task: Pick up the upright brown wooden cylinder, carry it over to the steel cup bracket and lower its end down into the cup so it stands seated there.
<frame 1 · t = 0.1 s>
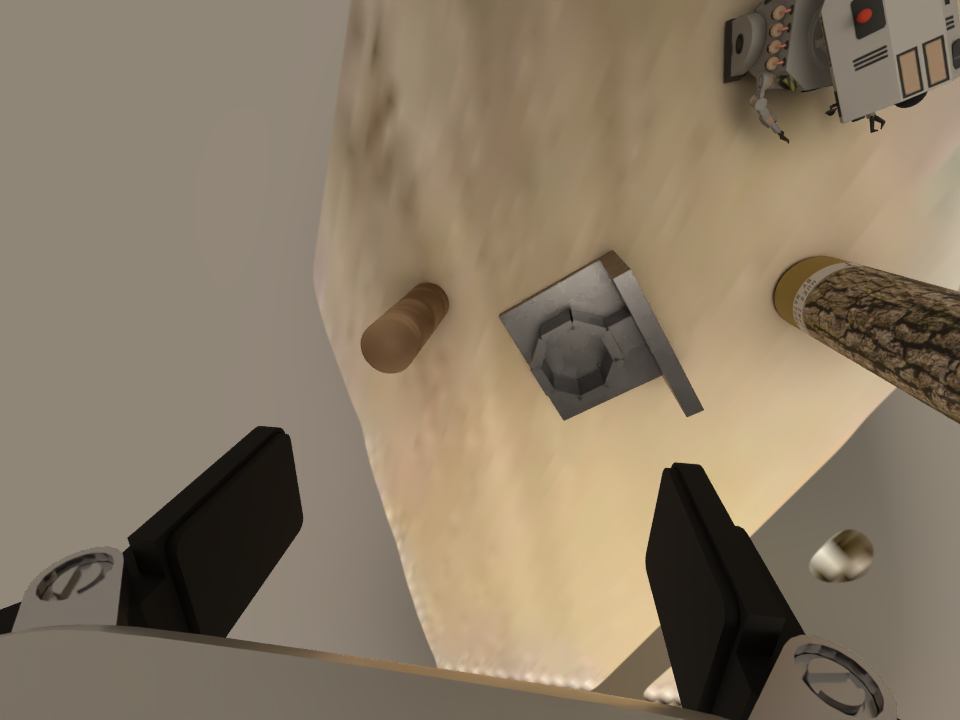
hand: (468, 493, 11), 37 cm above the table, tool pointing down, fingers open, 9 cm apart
brown wooden cylinder: (428, 303, 49), on the table
figurine: (780, 72, 37), on the table
bracket: (573, 346, 48), on the table
paper tube: (808, 290, 43), on the table
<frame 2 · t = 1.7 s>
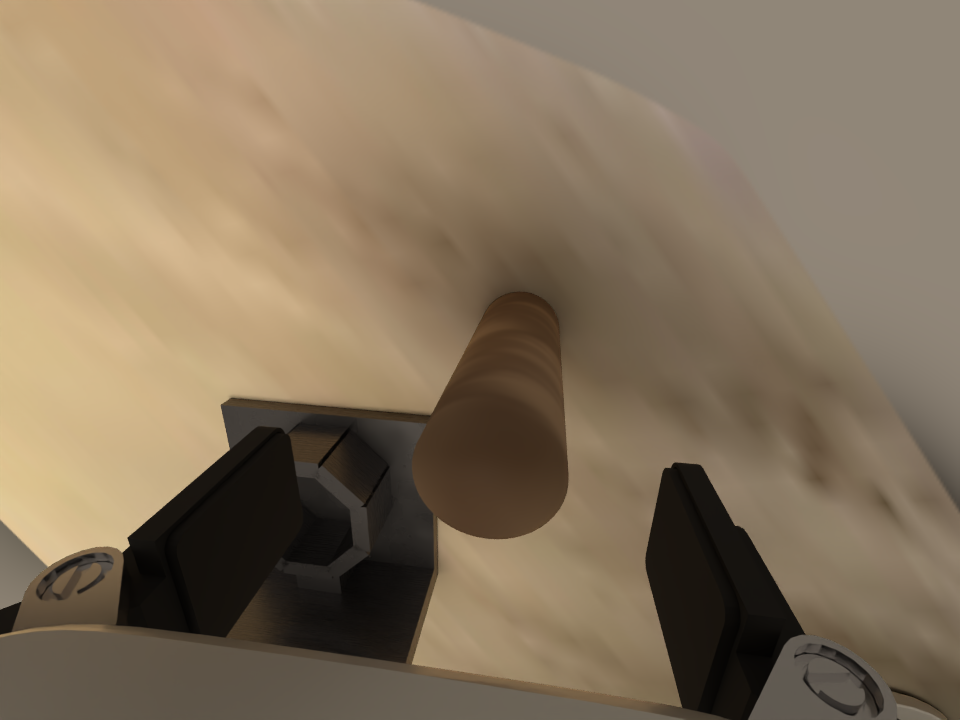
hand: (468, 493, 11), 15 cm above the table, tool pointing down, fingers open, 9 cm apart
brown wooden cylinder: (519, 330, 25), on the table
bracket: (337, 472, 31), on the table
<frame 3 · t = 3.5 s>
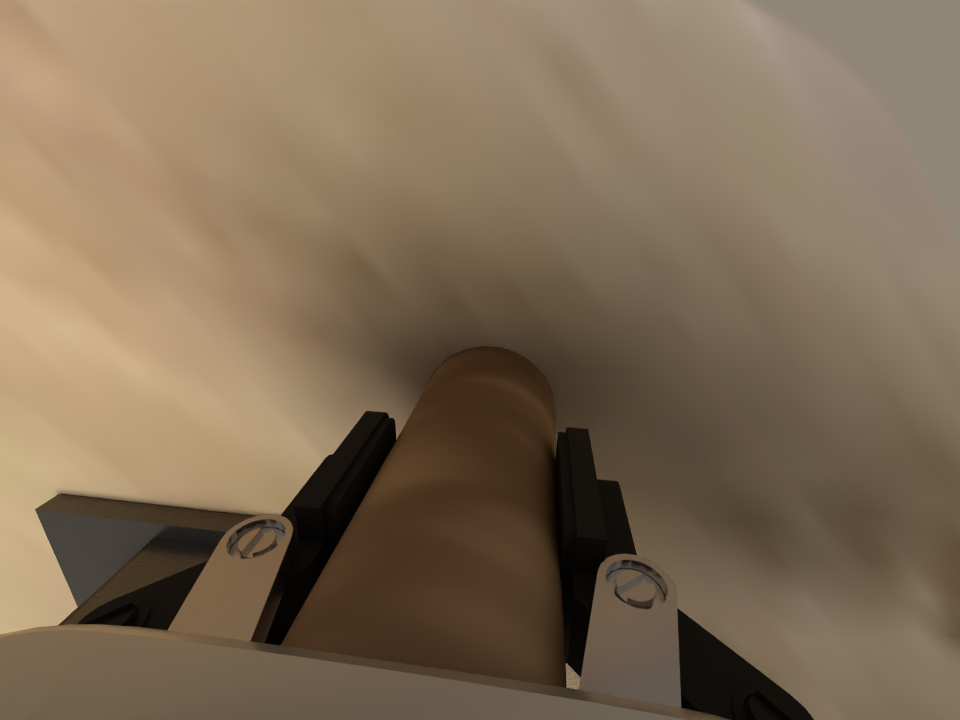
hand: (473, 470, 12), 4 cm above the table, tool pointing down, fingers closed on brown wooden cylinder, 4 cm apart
brown wooden cylinder: (489, 406, 15), on the table, touching gripper
bracket: (227, 596, 21), on the table
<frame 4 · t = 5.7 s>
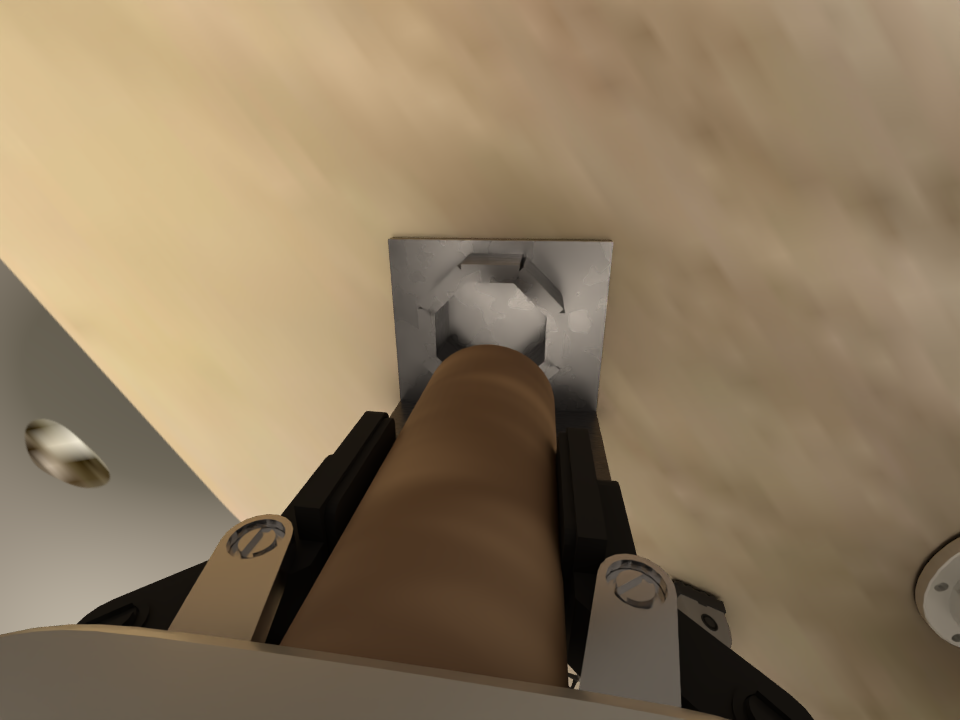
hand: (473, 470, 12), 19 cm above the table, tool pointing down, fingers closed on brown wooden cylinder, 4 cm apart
brown wooden cylinder: (489, 404, 15), point 16 cm above the table, touching gripper
figurine: (644, 608, 39), on the table
bracket: (497, 314, 31), on the table
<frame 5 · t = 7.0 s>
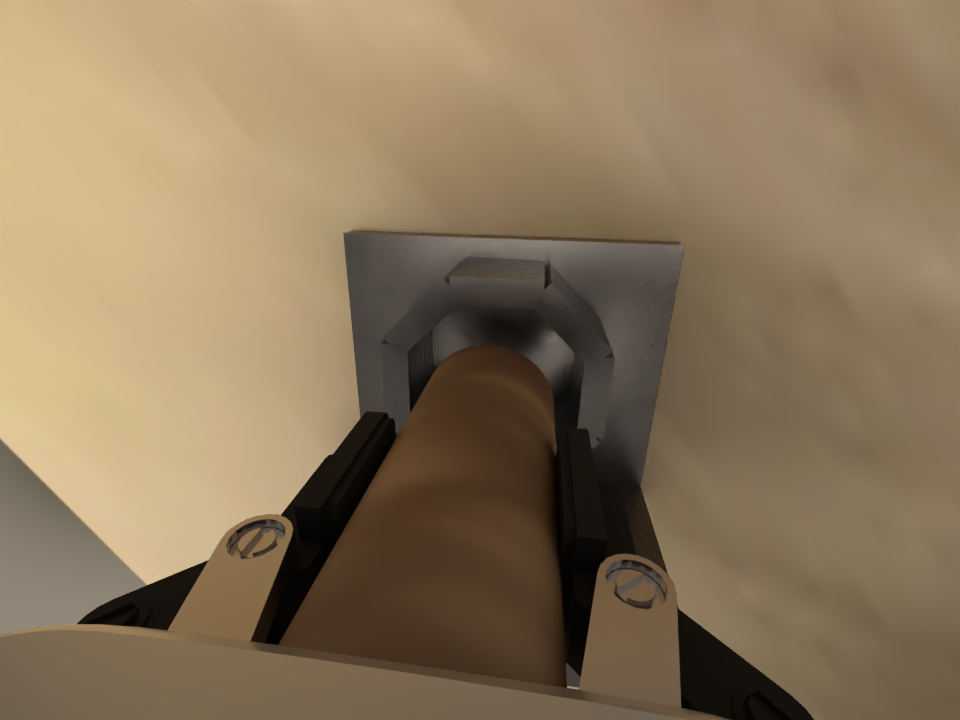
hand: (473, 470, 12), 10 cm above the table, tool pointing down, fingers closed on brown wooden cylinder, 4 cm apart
brown wooden cylinder: (489, 405, 15), point 6 cm above the table, touching gripper
bracket: (503, 345, 21), on the table
when the fingers open (7 cm above the table, at t = 8.0 s): brown wooden cylinder drops 2 cm, resting on bracket.
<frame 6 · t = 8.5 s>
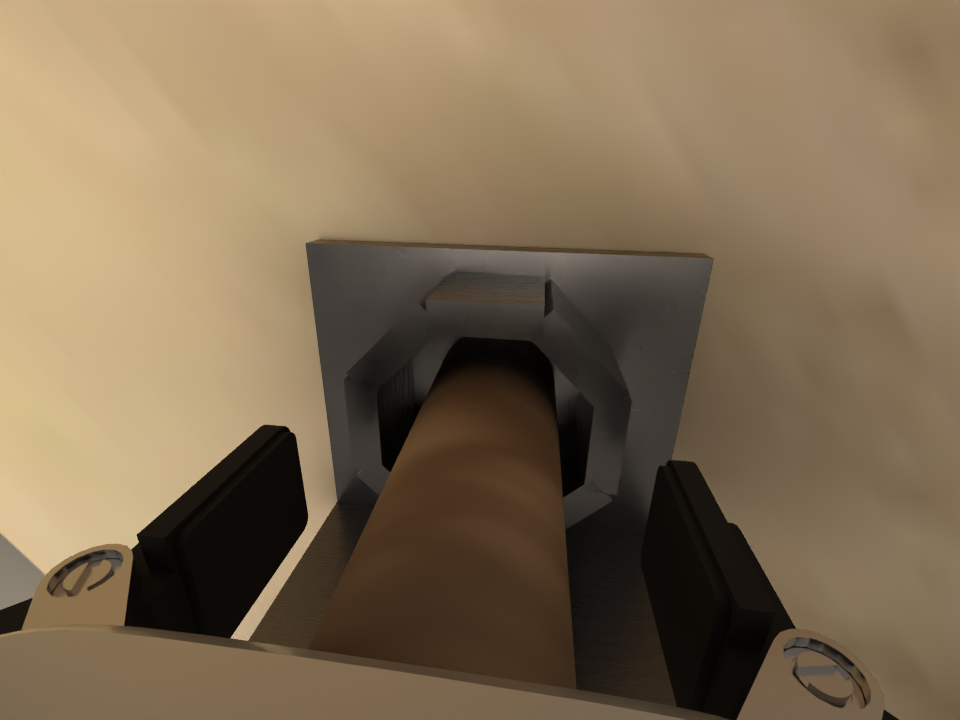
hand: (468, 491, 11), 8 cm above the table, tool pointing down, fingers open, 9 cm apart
brown wooden cylinder: (496, 383, 17), point 1 cm above the table, touching bracket
bracket: (497, 372, 18), on the table
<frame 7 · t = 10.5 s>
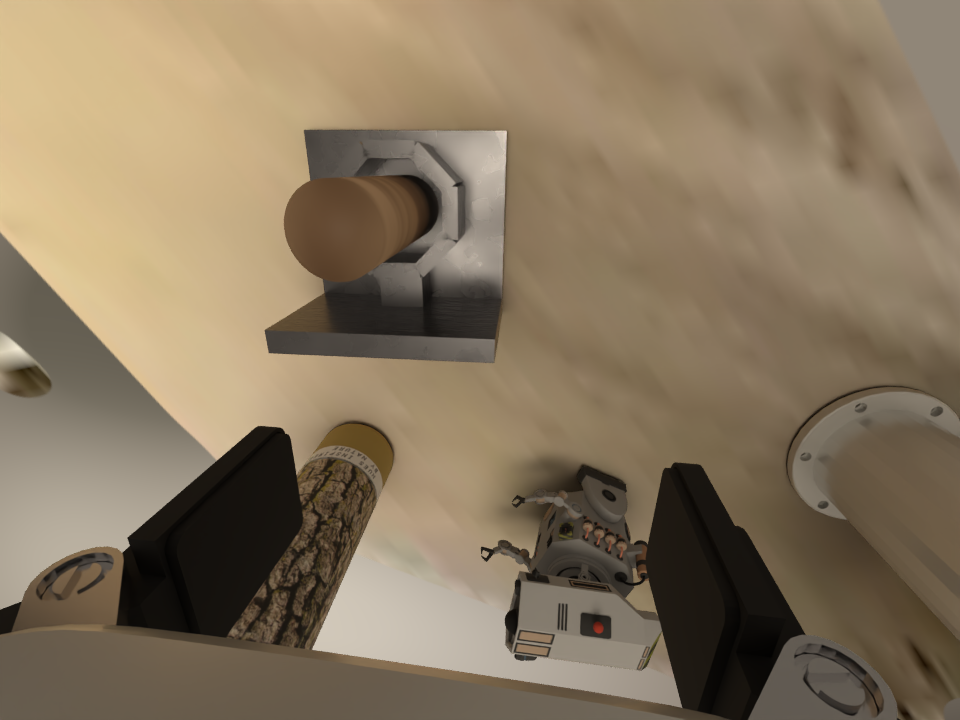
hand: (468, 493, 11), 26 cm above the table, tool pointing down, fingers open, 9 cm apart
brown wooden cylinder: (408, 207, 32), point 1 cm above the table, touching bracket
figurine: (559, 496, 43), on the table
bracket: (410, 206, 33), on the table
paper tube: (360, 449, 43), on the table
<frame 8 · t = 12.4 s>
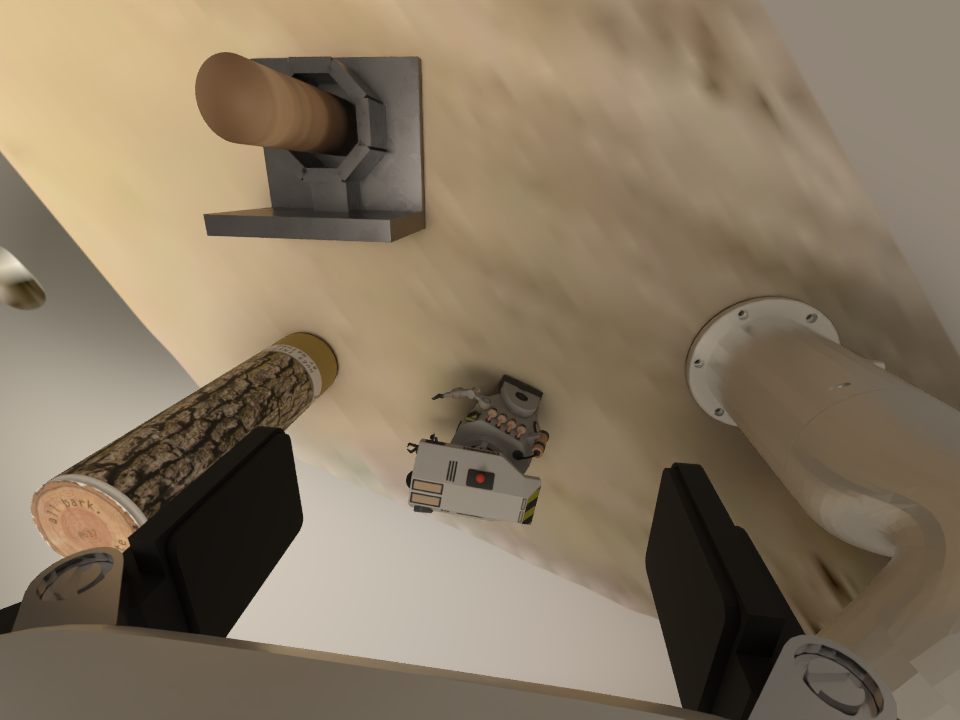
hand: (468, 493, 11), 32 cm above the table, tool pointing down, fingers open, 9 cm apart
brown wooden cylinder: (339, 127, 38), point 1 cm above the table, touching bracket
figurine: (486, 407, 47), on the table
bracket: (343, 129, 39), on the table
paper tube: (309, 360, 48), on the table
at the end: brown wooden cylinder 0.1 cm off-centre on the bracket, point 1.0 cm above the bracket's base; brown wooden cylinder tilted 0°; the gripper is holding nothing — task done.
